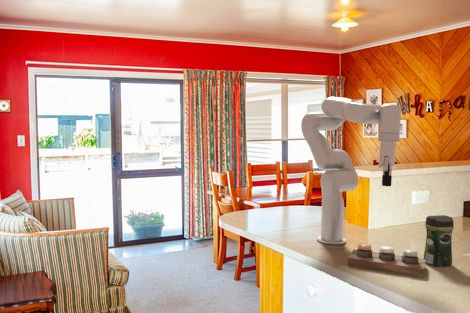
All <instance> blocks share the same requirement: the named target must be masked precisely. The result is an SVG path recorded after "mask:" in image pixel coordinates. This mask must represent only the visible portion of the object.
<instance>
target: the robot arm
mask: <svg viewBox="0 0 470 313" xmlns="http://www.w3.org/2000/svg"><path fill="white" fill-rule="evenodd" d="M320 106H321V111H322V112H321V111H315V112H314V111H313V112H308V113H306V114H304V116H303V117H302V119H301V122H300V123H301V127H300V128H301V133H302V136H303V137H304V139H305V142H306V143H307V145H308V147H309V148H310V151H311V152H310V153H311V154H312V157H313V159H314V161H315V164H316V166H317V168H318V169H319V170H321V171H325V172H323V174H321V177H320V180H319V182H320V188H321V197H322V198H321V220H320V222H321V224H320V235H318V236H317V237H316V238H317V239H316V240H317V241H318V242H320V243H322V244H326V245H334V246H335V245H344V244H345V243H346V242H347V238H346V237H344V218H345V217H344V214H345V212H344V211H345V202H344V201H345V200H344V198H343V195H342V193H341V192H349V191H354V190H355V189H357V187H358V186H359V176H358V172H357V171H356V168H355V166H354V163H353V162H352V160H351V158H350V155H349V154H348V152H346V151H345V150H343V149H341V148H340V149H339V148H331V146H330V144H329V141H328V139H327V138H326V137H325V136H324V134H322V133H321V131H325V132H328V131H330V132H331V131H336V130H337V129H338V128H339V127H340V126H341V125H342V124H344V122H346V121H347V122H351V123H357V124H365V125H366V124H368V125H369V124H370V125H378V138H377V139H378V140H377V141H378V142H380V145H379V146H380V147H379V157H378V168H382V177H381V186H382V187H391V186H392V180H393V179H392V178H393V177H392V176H393V175H392V171H393V170H392V169H393V168H394V167H395V163H396V162H395V161H396V150H397V143H398V142H400V138H401V137H400V136H401V134H400V132H401V118H402V116H401V114H402V113H401V112H402V108H401V106H400V105H399V104H373V103H371V104H370V103H360V102H359V103H357V102H356V101H355V100H354V99H351V98H348V97H342V96H340V97H339V96H330V97H326V98H325V99H324V100H323V101H322V102H321V105H320Z"/></svg>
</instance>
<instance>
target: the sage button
mask: <svg viewBox="0 0 470 313" xmlns="http://www.w3.org/2000/svg"><path fill="white" fill-rule="evenodd" d="M402 255H406V256H412V257H415V256H418V255H419V253H418V251H417V250H415V249H409V248H408V249H403V252H402ZM418 257H419V256H418Z"/></svg>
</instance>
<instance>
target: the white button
mask: <svg viewBox="0 0 470 313" xmlns="http://www.w3.org/2000/svg"><path fill="white" fill-rule="evenodd" d="M379 248H380V249H379V250H380V251H381V252H383V253H394V254H395V248H394V247H392V246H387V245H386V246H385V245H383V246H380V247H379ZM380 251H379V252H380Z"/></svg>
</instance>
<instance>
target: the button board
mask: <svg viewBox="0 0 470 313" xmlns="http://www.w3.org/2000/svg"><path fill="white" fill-rule="evenodd" d="M347 267H353V268H360V269H366V270H372V271H377V272H386V273H390V274H391V273H392V274H399V275H404V276H405V275H406V276H412V277H416V278H417V277H418V278H425V270H426V263H425V259H424V258H419V256H415V257H412V256H406V255H404V254H402V255H396V254H395V252H394V253H383V252H381V251H379V252H375V251H373V250H372V249H371V250H361V249H359V248H358V247H357V249H352V251H351V253H350V254H349V256H348V257H347Z"/></svg>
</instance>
